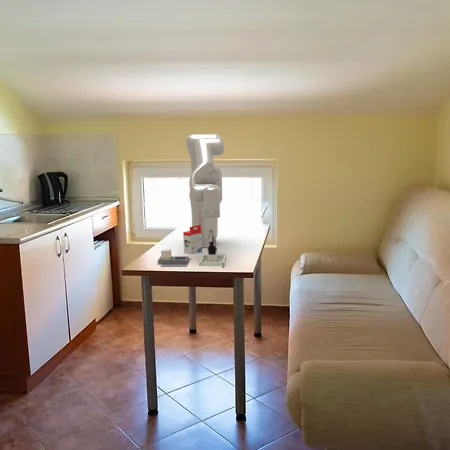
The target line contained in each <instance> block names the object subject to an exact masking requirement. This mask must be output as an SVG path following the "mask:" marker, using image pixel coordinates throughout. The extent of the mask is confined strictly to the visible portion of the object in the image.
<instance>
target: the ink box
mask: <svg viewBox="0 0 450 450" xmlns="http://www.w3.org/2000/svg"><path fill="white" fill-rule="evenodd" d="M195 227H196V228H197V229H194V228H195ZM182 235H183V236H182V237H183V253H184V254H188V255H192V254H196V253H197V254H198V253H202V252H203V248H202V236H201V225H196V226H192V225H191V226H190V227H189V230H187V231H183V233H182Z"/></svg>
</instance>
